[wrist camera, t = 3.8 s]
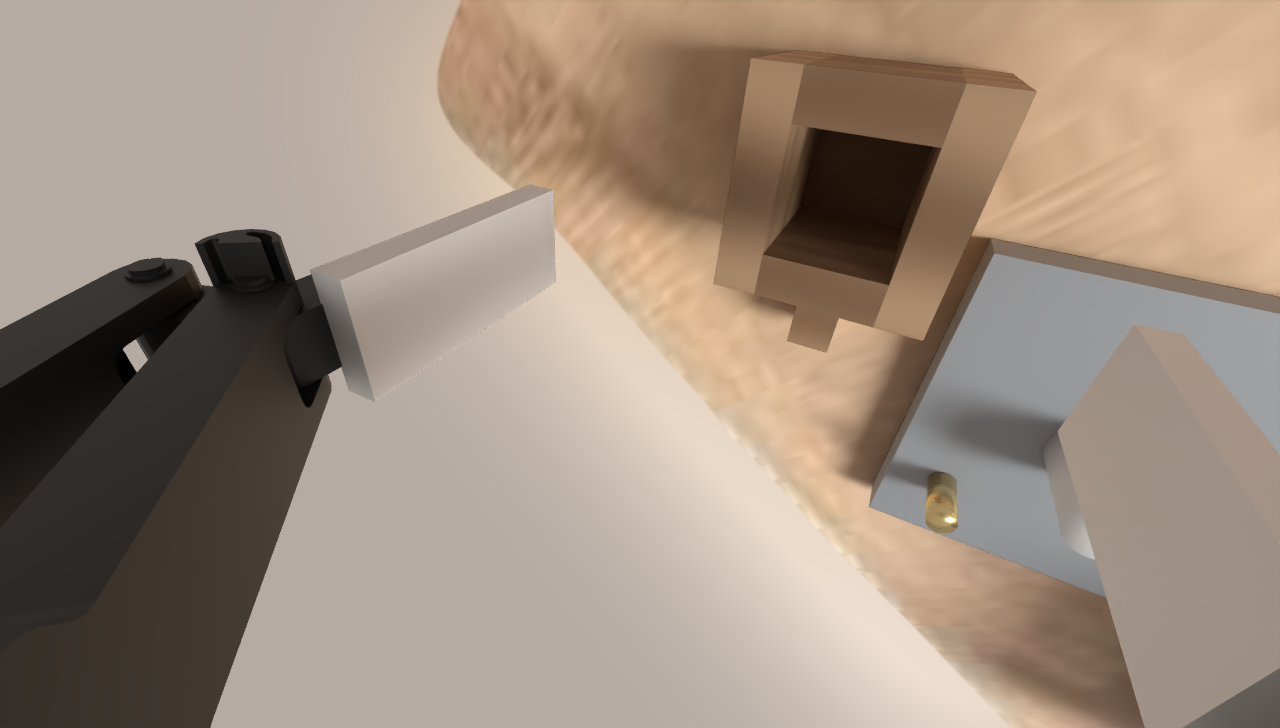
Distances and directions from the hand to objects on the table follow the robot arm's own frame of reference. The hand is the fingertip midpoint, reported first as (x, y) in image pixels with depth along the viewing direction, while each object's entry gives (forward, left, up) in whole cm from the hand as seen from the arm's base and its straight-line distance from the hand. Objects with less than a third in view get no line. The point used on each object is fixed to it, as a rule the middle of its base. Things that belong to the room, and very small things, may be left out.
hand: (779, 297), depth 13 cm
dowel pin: (+14, +9, -13) cm, 21 cm away
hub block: (+2, 0, -15) cm, 15 cm away
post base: (+10, +13, -15) cm, 22 cm away
